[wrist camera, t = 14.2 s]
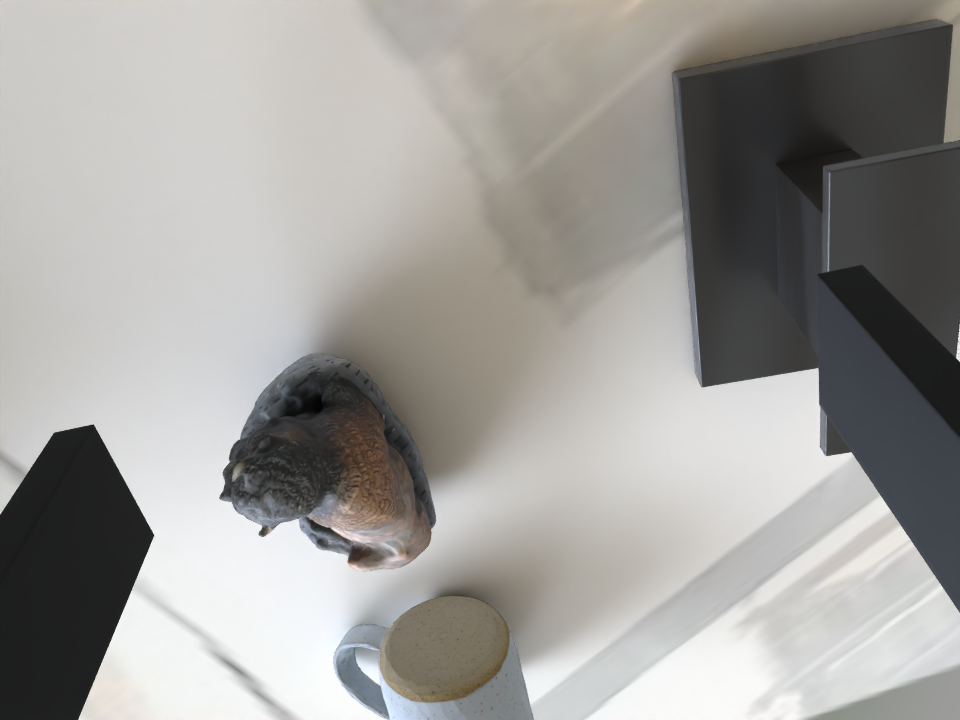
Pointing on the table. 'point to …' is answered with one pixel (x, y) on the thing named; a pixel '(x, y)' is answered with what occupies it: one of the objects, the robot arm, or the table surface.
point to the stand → (816, 194)
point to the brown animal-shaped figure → (332, 466)
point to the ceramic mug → (438, 664)
